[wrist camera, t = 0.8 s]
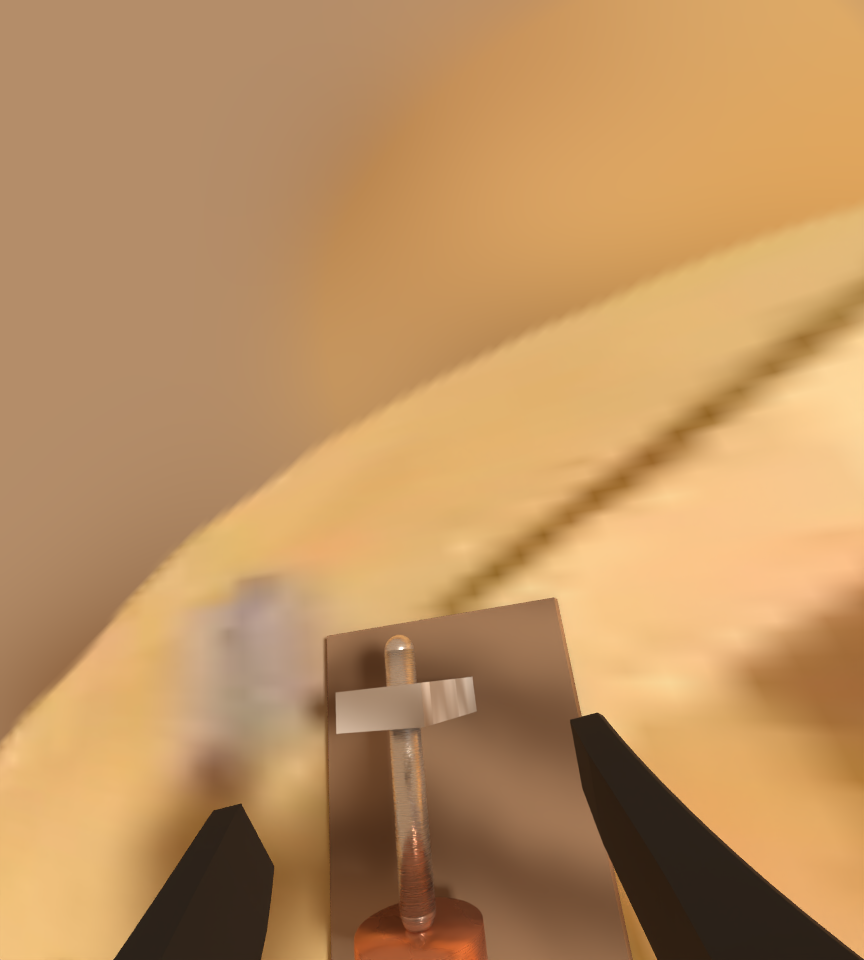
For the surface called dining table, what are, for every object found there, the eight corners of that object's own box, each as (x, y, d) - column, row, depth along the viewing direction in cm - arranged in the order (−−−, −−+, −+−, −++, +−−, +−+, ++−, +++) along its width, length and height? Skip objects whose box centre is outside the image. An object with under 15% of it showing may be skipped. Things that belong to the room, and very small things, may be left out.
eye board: (699, 1278, 15) (719, 1651, 9) (345, 1163, 20) (220, 1362, 14) (557, 599, 24) (523, 582, 18) (334, 636, 29) (254, 632, 23)
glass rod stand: (509, 978, 18) (462, 1077, 14) (399, 964, 20) (327, 1047, 16) (465, 629, 23) (421, 624, 19) (380, 643, 25) (323, 640, 21)
